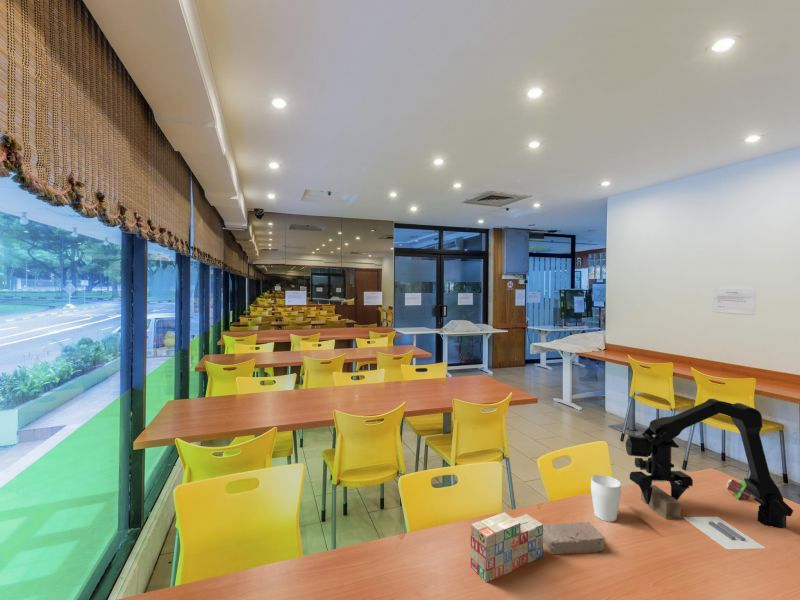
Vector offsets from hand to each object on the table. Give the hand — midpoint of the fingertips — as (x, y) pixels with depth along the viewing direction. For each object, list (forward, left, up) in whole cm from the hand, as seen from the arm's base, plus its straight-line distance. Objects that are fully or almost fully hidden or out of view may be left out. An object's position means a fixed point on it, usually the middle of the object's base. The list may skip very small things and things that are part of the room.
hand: (660, 503), depth 131 cm
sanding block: (0, 0, -4) cm, 4 cm away
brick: (+39, +15, -4) cm, 42 cm away
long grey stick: (-12, +13, -2) cm, 18 cm away
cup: (+20, +1, -4) cm, 20 cm away
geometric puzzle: (-38, -9, -4) cm, 39 cm away
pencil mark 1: (-10, +13, -2) cm, 16 cm away
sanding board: (-10, +13, -4) cm, 17 cm away
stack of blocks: (+61, +22, -4) cm, 65 cm away
